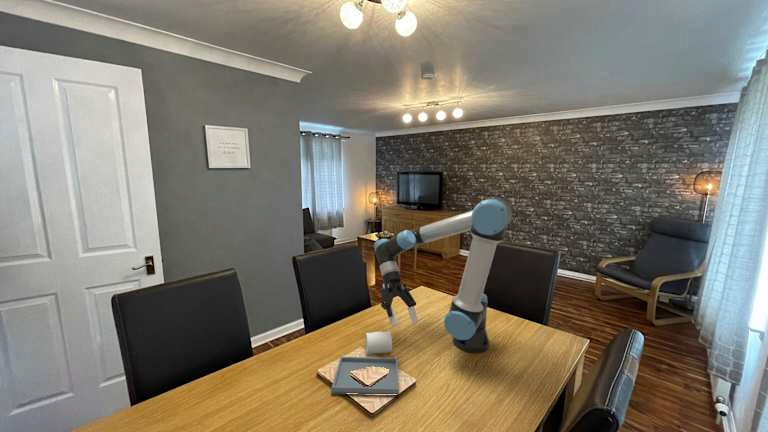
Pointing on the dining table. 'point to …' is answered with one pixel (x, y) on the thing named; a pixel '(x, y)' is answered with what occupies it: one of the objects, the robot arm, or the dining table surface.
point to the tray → (347, 364)
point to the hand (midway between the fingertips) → (405, 324)
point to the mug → (378, 342)
